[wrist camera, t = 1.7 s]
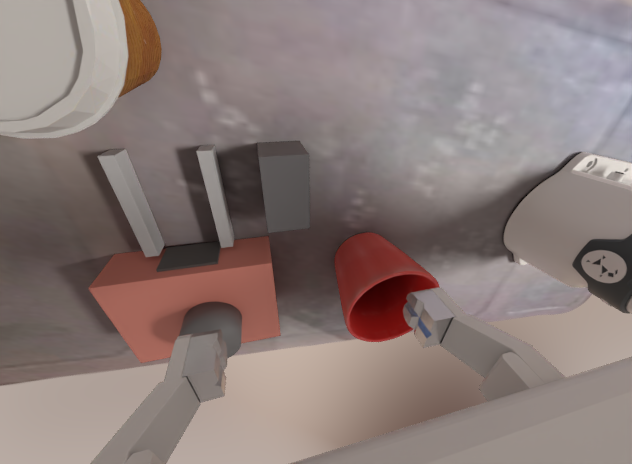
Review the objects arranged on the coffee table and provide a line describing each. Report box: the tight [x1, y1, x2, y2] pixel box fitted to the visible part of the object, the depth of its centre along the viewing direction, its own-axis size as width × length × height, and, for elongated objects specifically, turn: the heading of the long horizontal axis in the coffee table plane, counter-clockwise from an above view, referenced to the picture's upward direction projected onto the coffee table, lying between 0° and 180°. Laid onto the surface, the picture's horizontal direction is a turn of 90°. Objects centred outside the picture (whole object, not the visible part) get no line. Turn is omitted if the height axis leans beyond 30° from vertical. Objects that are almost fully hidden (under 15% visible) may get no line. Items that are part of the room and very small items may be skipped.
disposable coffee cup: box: [0, 0, 161, 139], centre depth 12 cm, size 10×10×12 cm
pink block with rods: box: [88, 145, 281, 363], centre depth 24 cm, size 16×22×8 cm
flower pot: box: [334, 232, 439, 342], centre depth 29 cm, size 11×11×10 cm
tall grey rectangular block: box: [257, 141, 310, 233], centre depth 23 cm, size 4×7×5 cm, turn 0°
